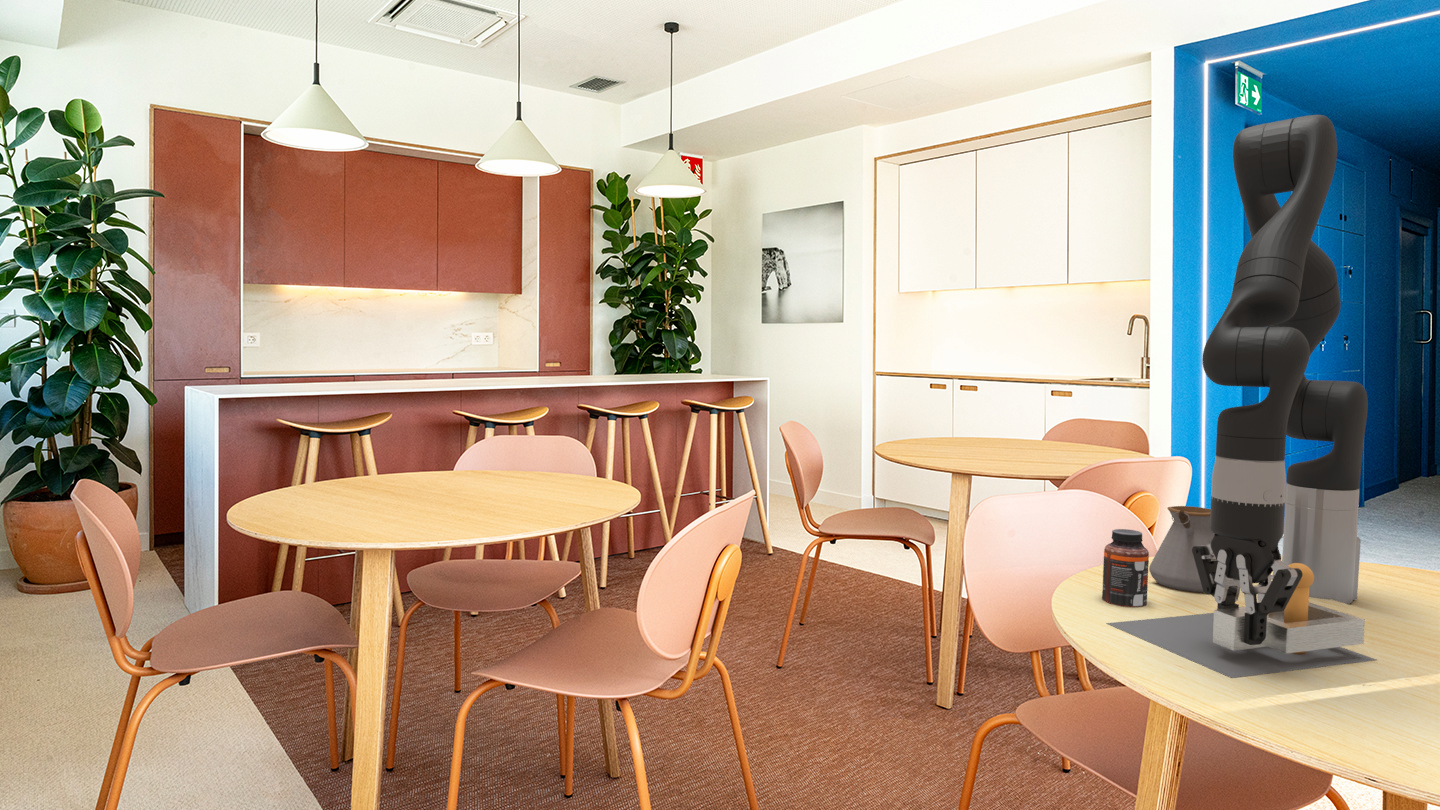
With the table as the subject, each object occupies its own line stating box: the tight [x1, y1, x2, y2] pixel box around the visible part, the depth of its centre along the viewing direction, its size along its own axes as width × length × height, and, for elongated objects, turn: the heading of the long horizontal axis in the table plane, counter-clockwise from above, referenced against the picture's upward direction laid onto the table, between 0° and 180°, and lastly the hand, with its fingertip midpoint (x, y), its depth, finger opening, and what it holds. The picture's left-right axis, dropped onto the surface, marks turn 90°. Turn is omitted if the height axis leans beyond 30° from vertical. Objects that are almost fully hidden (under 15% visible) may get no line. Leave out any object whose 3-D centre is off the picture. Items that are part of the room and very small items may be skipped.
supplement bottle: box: [1101, 528, 1150, 608], centre depth 128 cm, size 6×6×11 cm
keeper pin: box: [1284, 563, 1314, 654], centre depth 107 cm, size 3×3×11 cm
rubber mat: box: [1105, 612, 1378, 679], centre depth 111 cm, size 22×20×1 cm
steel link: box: [1213, 601, 1366, 654], centre depth 107 cm, size 17×8×4 cm, turn 107°
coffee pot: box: [1148, 505, 1214, 594], centre depth 133 cm, size 21×12×15 cm, turn 146°
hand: (1239, 638), depth 105 cm, fingers closed on steel link, 3 cm apart
